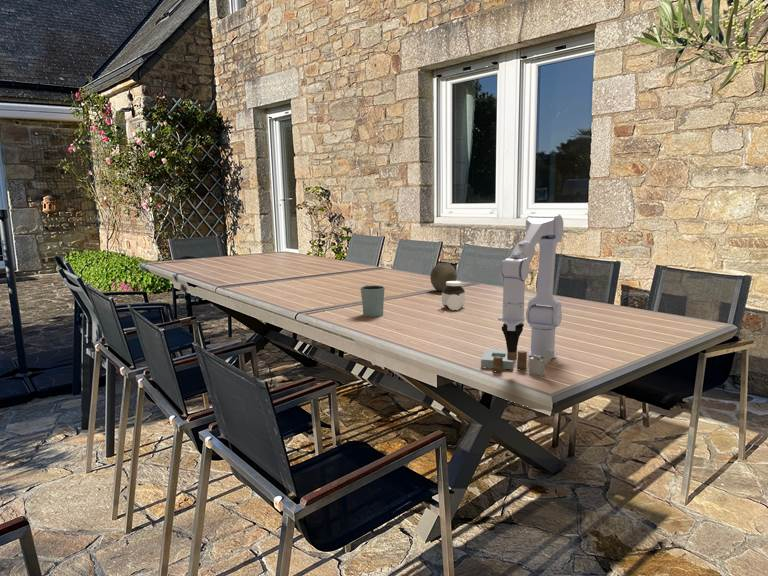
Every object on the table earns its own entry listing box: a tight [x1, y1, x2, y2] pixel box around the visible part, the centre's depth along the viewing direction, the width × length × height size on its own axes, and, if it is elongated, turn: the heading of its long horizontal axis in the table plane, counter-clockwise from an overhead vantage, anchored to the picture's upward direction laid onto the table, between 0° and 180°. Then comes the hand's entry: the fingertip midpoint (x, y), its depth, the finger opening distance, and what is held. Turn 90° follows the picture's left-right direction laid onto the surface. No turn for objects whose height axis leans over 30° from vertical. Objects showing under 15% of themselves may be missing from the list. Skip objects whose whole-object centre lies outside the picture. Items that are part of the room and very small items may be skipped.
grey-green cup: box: [360, 284, 386, 318], centre depth 240 cm, size 10×10×12 cm
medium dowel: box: [516, 350, 528, 371], centre depth 164 cm, size 3×3×5 cm
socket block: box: [480, 348, 516, 371], centre depth 170 cm, size 12×9×2 cm
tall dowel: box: [506, 348, 518, 362], centre depth 157 cm, size 3×3×7 cm
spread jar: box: [441, 280, 466, 311], centre depth 253 cm, size 12×11×12 cm
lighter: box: [528, 349, 555, 377], centre depth 158 cm, size 7×2×8 cm, turn 41°
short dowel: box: [492, 356, 503, 373], centre depth 162 cm, size 3×3×4 cm
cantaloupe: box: [429, 262, 458, 292], centre depth 299 cm, size 14×14×15 cm
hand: (512, 350), depth 157 cm, fingers closed on tall dowel, 3 cm apart
